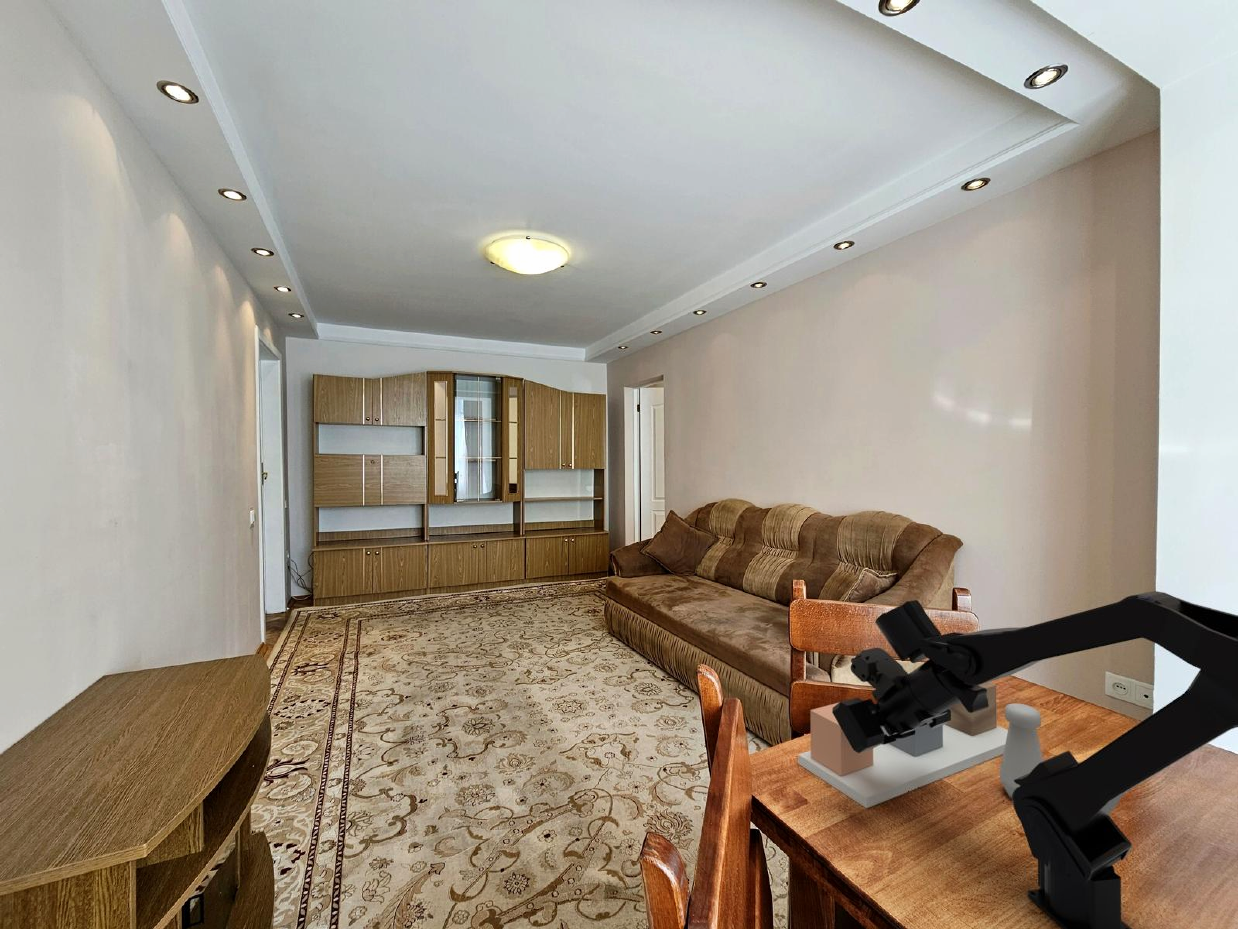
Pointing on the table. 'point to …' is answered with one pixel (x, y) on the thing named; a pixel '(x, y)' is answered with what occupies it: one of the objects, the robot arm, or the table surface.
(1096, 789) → the robot arm
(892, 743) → the dark slate block
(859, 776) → the grey base board
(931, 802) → the table surface
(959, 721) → the walnut block
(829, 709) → the terracotta block
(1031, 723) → the salt shaker
